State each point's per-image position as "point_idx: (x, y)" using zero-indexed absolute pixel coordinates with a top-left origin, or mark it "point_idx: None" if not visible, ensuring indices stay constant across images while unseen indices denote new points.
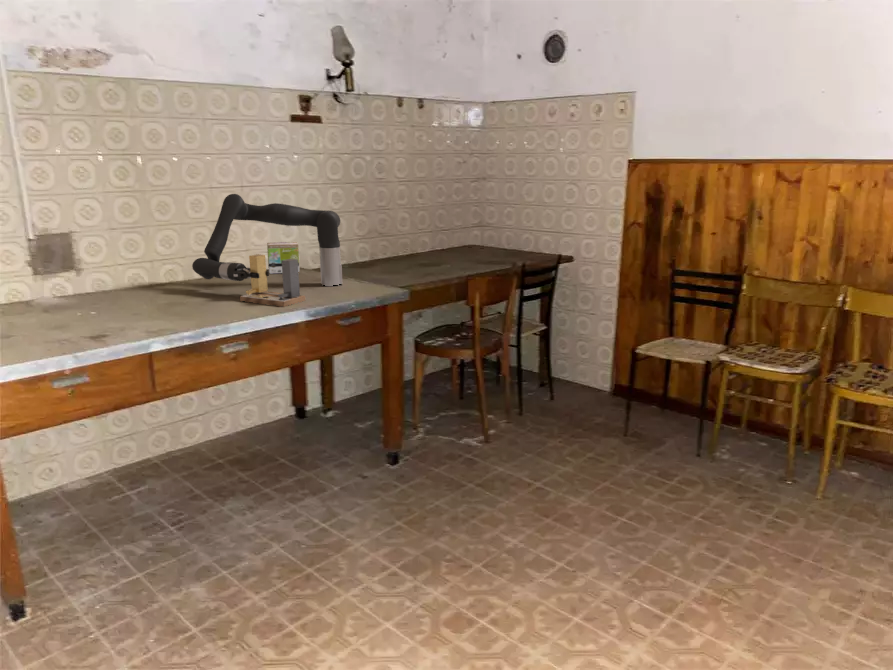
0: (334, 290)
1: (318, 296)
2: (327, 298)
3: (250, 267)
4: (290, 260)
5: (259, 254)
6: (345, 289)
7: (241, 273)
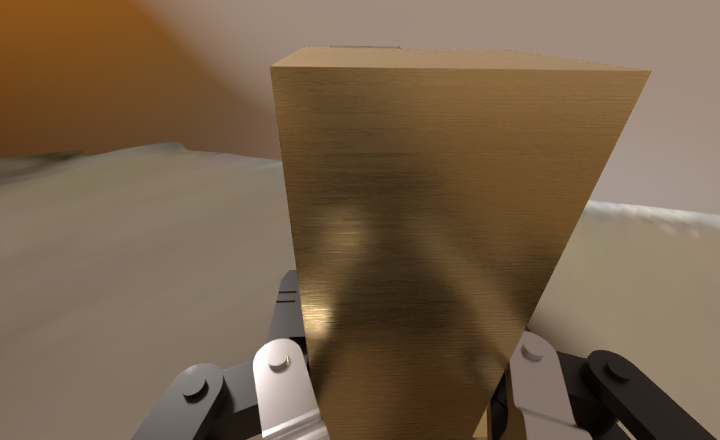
0: (87, 244)
1: (233, 232)
2: (261, 204)
3: (527, 304)
4: (375, 47)
5: (306, 57)
6: (68, 227)
7: (692, 434)
